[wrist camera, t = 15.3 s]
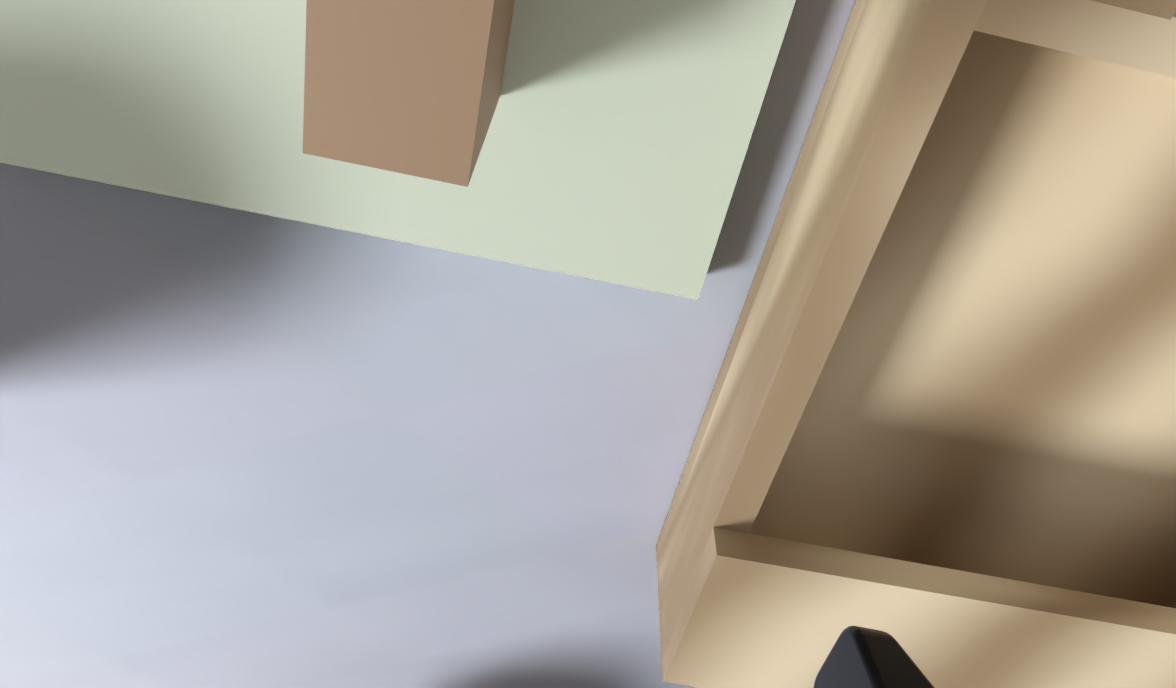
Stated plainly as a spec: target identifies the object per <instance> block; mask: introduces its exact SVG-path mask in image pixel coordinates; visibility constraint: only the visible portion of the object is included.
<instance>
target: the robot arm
mask: <svg viewBox="0 0 1176 688" xmlns="http://www.w3.org/2000/svg"><path fill="white" fill-rule="evenodd" d="M814 688H934V686H933V685H932V684H931V683H930V681H929V680H928V679H927V678H926V676H925V675H924V674H923V673H922V672H921V670H920V669H919V668H918V667H917V665H916V664H915V663H914V662H913V660H912V659H911V658H910V657H909V655H908V654H907V653H906V652H905V650H904V649H903V648H902V647H901V646H900V644H899V643H898V642H897V641H896V640H895V638H893V637H892V636H891V635H890V634H888V633H886V632H884V631H880V630H875V629H869V628H864V627H858V626H849V627H847V628H846V629H844V630H843V631H842V633H841V634H840V636H839V637H838V639H837V641H836V643H835V644H834V646H833V648H832V649H831V651H830V653H829V655H828V656H827V658H826V660H825V662H824V663H823V665H822V667H821V669H820V670H819V672H818V674H817V676H816V679H815V682H814Z"/></svg>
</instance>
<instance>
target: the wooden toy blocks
mask: <svg viewBox="0 0 1176 688" xmlns="http://www.w3.org/2000/svg"><path fill="white" fill-rule="evenodd" d="M656 552H657V572H658V592H659V613H660V633H661V653H662V673H663V682H668V683H674V684H680V685H687V686H693V687H699V688H814V682H815V679H816V676H817V674H818V672H819V670H820V669H821V667H822V665H823V663H824V662H825V660H826V658H827V656H828V655H829V653H830V651H831V649H832V648H833V646H834V644H835V643H836V641H837V639H838V637H839V636H840V634H841V633H842V631H843V630H844V629H846V628H847V627H849V626H858V627H864V628H869V629H875V630H880V631H884V632H886V633H888V634H890V635H891V636H892V637H893V638H895V640H896V641H897V642H898V643H899V644H900V646H901V647H902V648H903V649H904V650H905V652H906V653H907V654H908V655H909V657H910V658H911V659H912V660H913V662H914V663H915V664H916V665H917V667H918V668H919V669H920V670H921V672H922V673H923V674H924V675H925V676H926V678H927V679H928V680H929V681H930V683H931V684H932V685H933V686H934V688H1176V0H856V2H855V5H854V7H853V10H852V13H851V16H850V18H849V21H848V24H847V27H846V29H845V32H844V35H843V37H842V40H841V43H840V46H839V48H838V51H837V54H836V57H835V59H834V62H833V65H832V67H831V70H830V73H829V76H828V78H827V81H826V84H825V87H824V89H823V92H822V95H821V97H820V100H819V103H818V106H817V108H816V111H815V114H814V117H813V119H812V122H811V125H810V127H809V130H808V133H807V136H806V138H805V141H804V144H803V147H802V149H801V152H800V155H799V157H798V160H797V163H796V166H795V168H794V171H793V174H792V177H791V179H790V182H789V185H788V187H787V190H786V193H785V196H784V198H783V201H782V204H781V207H780V209H779V212H778V215H777V217H776V220H775V223H774V226H773V228H772V231H771V234H770V237H769V239H768V242H767V245H766V247H765V250H764V253H763V256H762V258H761V261H760V264H759V267H758V269H757V272H756V275H755V277H754V280H753V283H752V286H751V288H750V291H749V294H748V297H747V299H746V302H745V305H744V307H743V310H742V313H741V316H740V318H739V321H738V324H737V327H736V329H735V332H734V335H733V337H732V340H731V343H730V346H729V348H728V351H727V354H726V357H725V359H724V362H723V365H722V367H721V370H720V373H719V376H718V378H717V381H716V384H715V387H714V389H713V392H712V395H711V397H710V400H709V403H708V406H707V408H706V411H705V414H704V417H703V419H702V422H701V425H700V427H699V430H698V433H697V436H696V438H695V441H694V444H693V447H692V449H691V452H690V455H689V457H688V460H687V463H686V466H685V468H684V471H683V474H682V477H681V479H680V482H679V485H678V487H677V490H676V493H675V496H674V498H673V501H672V504H671V507H670V509H669V512H668V515H667V517H666V520H665V523H664V526H663V528H662V531H661V534H660V537H659V539H658V542H657V545H656Z"/></svg>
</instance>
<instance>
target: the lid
mask: <svg viewBox="0 0 1176 688" xmlns="http://www.w3.org/2000/svg"><path fill="white" fill-rule="evenodd" d="M795 2H796V0H0V163H5V164H10V165H15V166H20V167H25V168H30V169H35V170H40V171H45V172H50V173H55V174H60V175H66V176H71V177H76V178H81V179H86V180H91V181H96V182H101V183H106V184H111V185H116V186H121V187H126V188H132V189H137V190H142V191H147V192H152V193H157V194H162V195H167V196H172V197H177V198H182V199H187V200H193V201H198V202H203V203H208V204H213V205H218V206H223V207H228V208H233V209H238V210H243V211H248V212H253V213H259V214H264V215H269V216H274V217H279V218H284V219H289V220H294V221H299V222H304V223H309V224H314V225H319V226H325V227H330V228H335V229H340V230H345V231H350V232H355V233H360V234H365V235H370V236H375V237H380V238H386V239H391V240H396V241H401V242H406V243H411V244H416V245H421V246H426V247H431V248H436V249H441V250H446V251H452V252H457V253H462V254H467V255H472V256H477V257H482V258H487V259H492V260H497V261H502V262H507V263H512V264H518V265H523V266H528V267H533V268H538V269H543V270H548V271H553V272H558V273H563V274H568V275H573V276H578V277H584V278H589V279H594V280H599V281H604V282H609V283H614V284H619V285H624V286H629V287H634V288H639V289H645V290H650V291H655V292H660V293H665V294H670V295H675V296H680V297H685V298H690V299H695V300H698V299H699V295H700V292H701V289H702V286H703V283H704V280H705V277H706V274H707V271H708V268H709V265H710V262H711V259H712V256H713V253H714V250H715V247H716V243H717V240H718V237H719V234H720V231H721V228H722V225H723V222H724V219H725V216H726V213H727V210H728V207H729V204H730V201H731V198H732V195H733V191H734V188H735V185H736V182H737V179H738V176H739V173H740V170H741V167H742V164H743V161H744V158H745V155H746V152H747V149H748V146H749V142H750V139H751V136H752V133H753V130H754V127H755V124H756V121H757V118H758V115H759V112H760V109H761V106H762V103H763V100H764V97H765V94H766V90H767V87H768V84H769V81H770V78H771V75H772V72H773V69H774V66H775V63H776V60H777V57H778V54H779V51H780V48H781V45H782V42H783V38H784V35H785V32H786V29H787V26H788V23H789V20H790V17H791V14H792V11H793V8H794V5H795Z"/></svg>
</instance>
